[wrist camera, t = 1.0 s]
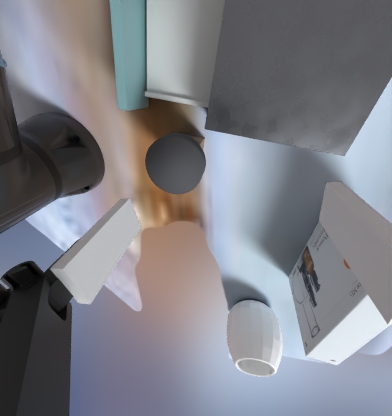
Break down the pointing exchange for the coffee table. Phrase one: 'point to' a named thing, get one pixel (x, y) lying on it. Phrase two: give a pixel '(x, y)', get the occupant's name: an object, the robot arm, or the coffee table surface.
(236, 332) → the cup
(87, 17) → the coffee table surface
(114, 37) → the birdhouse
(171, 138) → the puck
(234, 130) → the player housing
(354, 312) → the skincare box
